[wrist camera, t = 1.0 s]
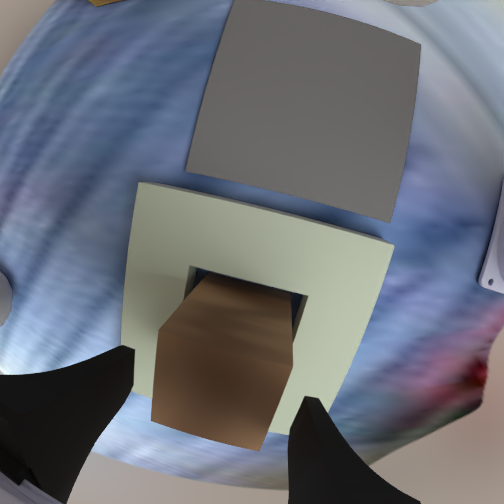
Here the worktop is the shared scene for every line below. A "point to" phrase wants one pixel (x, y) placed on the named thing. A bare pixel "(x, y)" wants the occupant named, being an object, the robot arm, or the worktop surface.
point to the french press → (412, 2)
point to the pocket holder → (252, 280)
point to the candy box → (102, 2)
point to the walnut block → (224, 361)
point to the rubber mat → (308, 107)
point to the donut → (5, 299)
